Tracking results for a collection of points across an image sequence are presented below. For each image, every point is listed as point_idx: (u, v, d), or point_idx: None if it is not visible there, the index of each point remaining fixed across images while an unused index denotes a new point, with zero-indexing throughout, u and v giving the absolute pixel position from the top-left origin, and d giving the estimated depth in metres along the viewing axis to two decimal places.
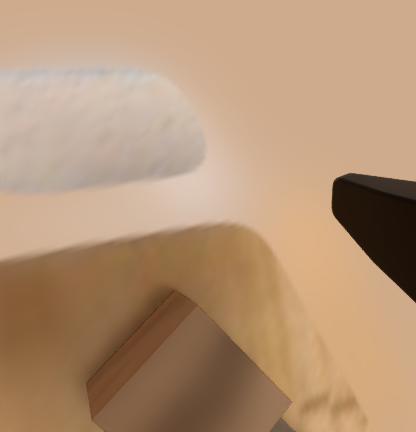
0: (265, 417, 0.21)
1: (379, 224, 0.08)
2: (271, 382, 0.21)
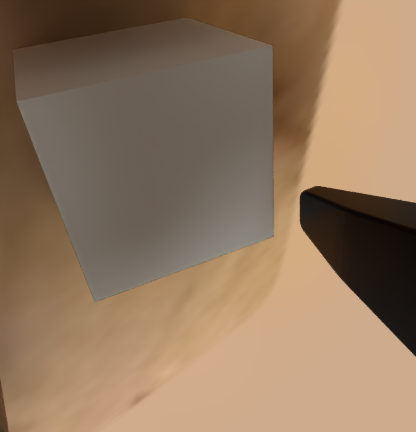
0: None
1: (343, 240, 0.08)
2: None
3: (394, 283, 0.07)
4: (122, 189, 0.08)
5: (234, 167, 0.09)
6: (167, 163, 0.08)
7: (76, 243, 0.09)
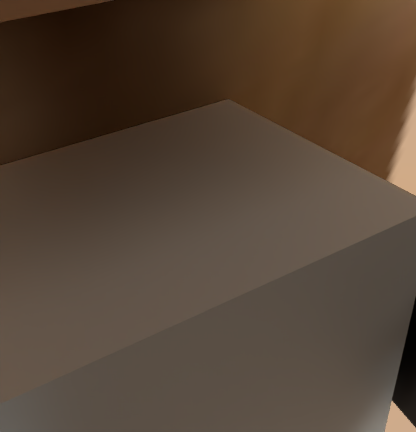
0: None
1: None
2: None
3: None
4: None
5: (345, 380, 0.05)
6: (244, 411, 0.05)
7: None
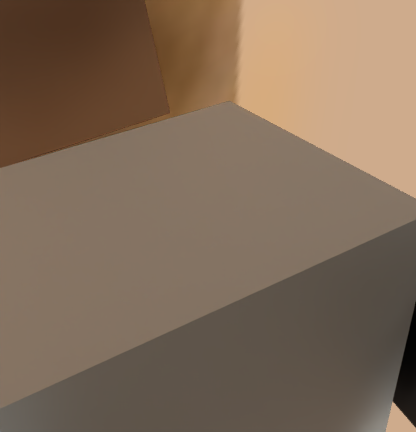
0: (123, 106, 0.14)
1: None
2: (156, 62, 0.14)
3: None
4: None
5: (346, 383, 0.06)
6: (246, 414, 0.05)
7: None
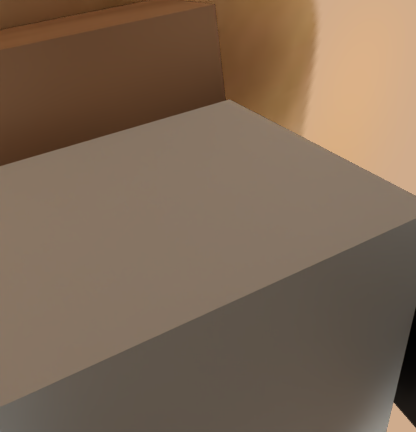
0: None
1: None
2: None
3: None
4: None
5: (348, 382, 0.05)
6: (245, 414, 0.05)
7: None
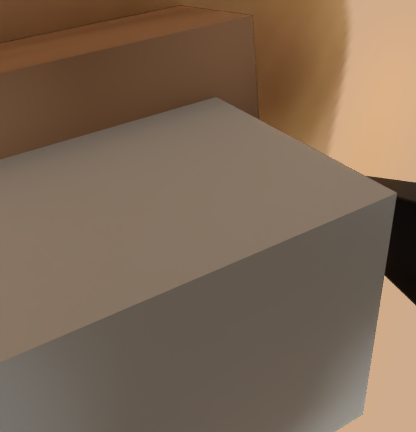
0: None
1: None
2: None
3: None
4: None
5: (321, 358, 0.06)
6: (223, 384, 0.05)
7: None
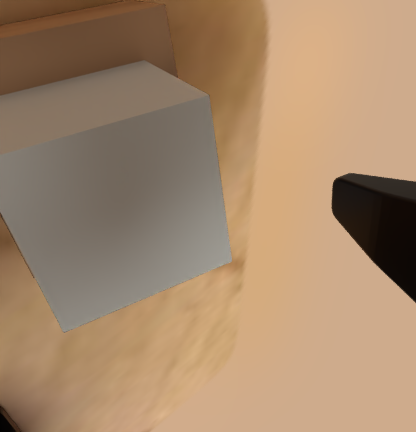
0: None
1: (379, 224, 0.08)
2: None
3: None
4: (80, 229, 0.09)
5: (185, 202, 0.10)
6: (121, 204, 0.09)
7: (41, 281, 0.09)
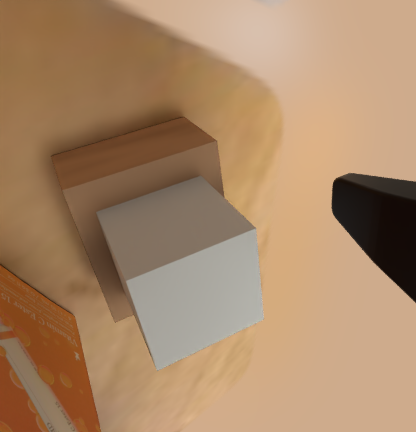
0: None
1: (379, 224, 0.08)
2: None
3: None
4: (175, 309, 0.15)
5: (237, 287, 0.16)
6: (199, 293, 0.15)
7: (149, 341, 0.15)
